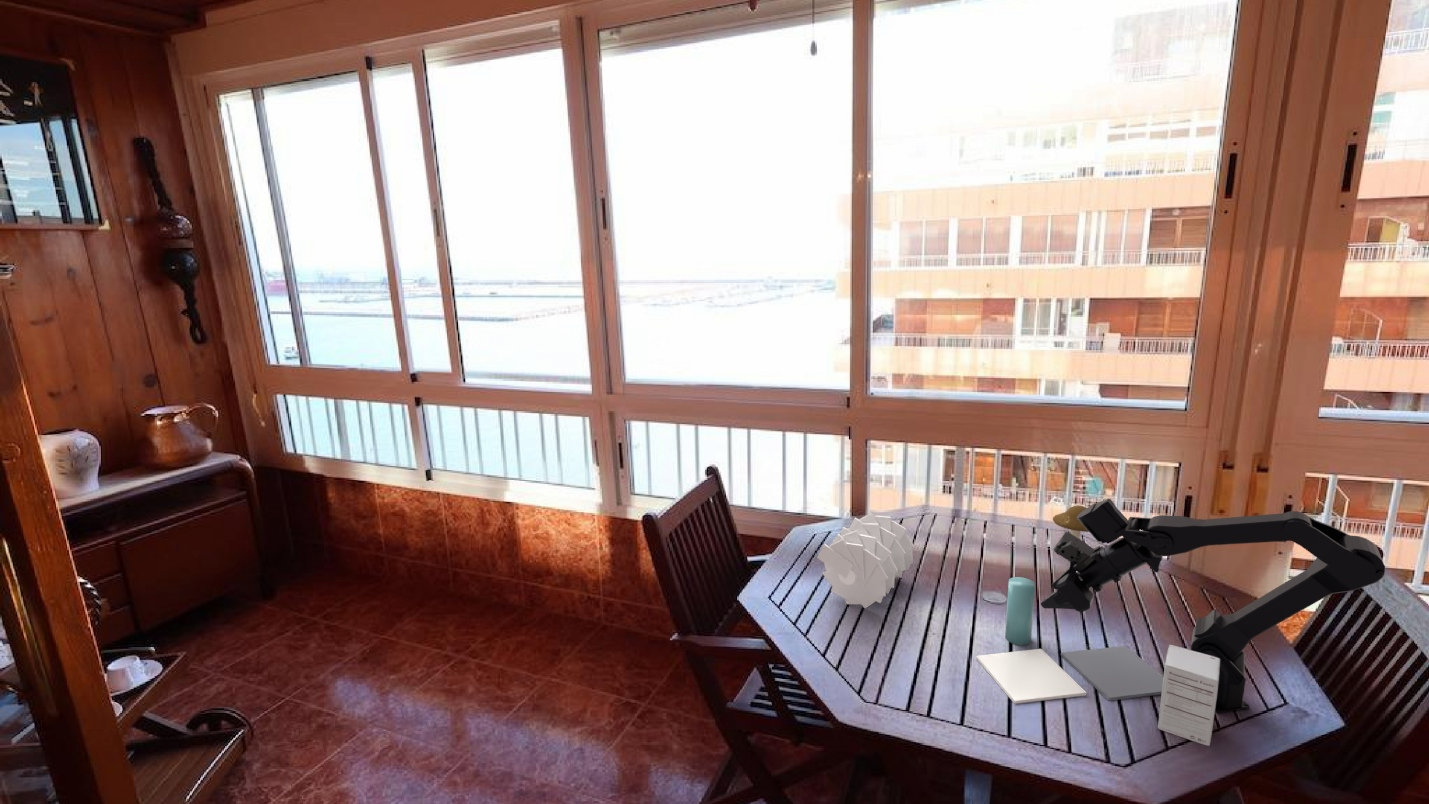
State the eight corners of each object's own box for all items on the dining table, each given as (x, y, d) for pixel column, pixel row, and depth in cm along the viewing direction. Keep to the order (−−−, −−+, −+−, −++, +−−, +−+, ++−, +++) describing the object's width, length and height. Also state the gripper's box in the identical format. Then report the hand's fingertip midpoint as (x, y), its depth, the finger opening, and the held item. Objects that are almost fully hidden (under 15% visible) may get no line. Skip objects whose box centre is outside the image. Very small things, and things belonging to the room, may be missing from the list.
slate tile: (1179, 692, 121) (1179, 689, 121) (1108, 700, 120) (1109, 697, 120) (1124, 648, 135) (1125, 645, 135) (1060, 655, 134) (1061, 652, 133)
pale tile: (1086, 695, 122) (1086, 692, 121) (1014, 703, 120) (1014, 700, 120) (1041, 651, 135) (1041, 648, 135) (976, 658, 134) (976, 655, 134)
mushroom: (1053, 548, 180) (1057, 496, 177) (1101, 558, 174) (1106, 504, 170) (1046, 561, 173) (1050, 507, 170) (1096, 571, 166) (1101, 516, 163)
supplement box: (1161, 705, 118) (1169, 642, 115) (1212, 722, 113) (1222, 657, 111) (1156, 729, 113) (1164, 663, 110) (1209, 748, 108) (1219, 680, 105)
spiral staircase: (899, 587, 171) (863, 630, 150) (842, 547, 178) (801, 582, 158) (932, 533, 164) (900, 570, 143) (872, 493, 171) (833, 523, 150)
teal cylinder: (1036, 644, 138) (1040, 587, 135) (1013, 646, 137) (1017, 589, 134) (1022, 631, 142) (1026, 576, 140) (1000, 633, 142) (1003, 578, 139)
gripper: (1093, 510, 134) (1031, 546, 143) (1074, 542, 120) (1007, 581, 129) (1134, 555, 131) (1068, 590, 140) (1120, 594, 117) (1047, 630, 126)
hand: (1047, 596), depth 134 cm, fingers open, 9 cm apart
